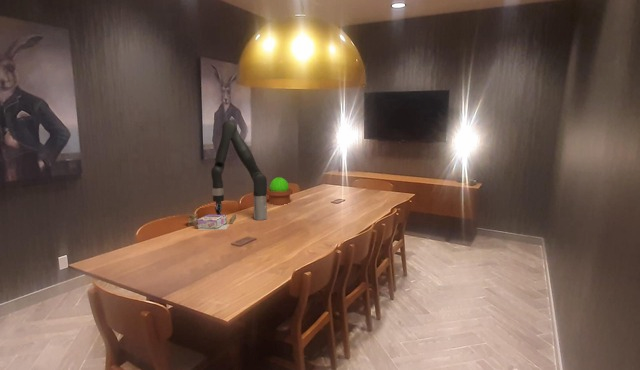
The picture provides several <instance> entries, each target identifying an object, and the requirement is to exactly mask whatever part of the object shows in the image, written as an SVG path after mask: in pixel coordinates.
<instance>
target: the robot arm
mask: <svg viewBox="0 0 640 370" xmlns="http://www.w3.org/2000/svg"><path fill="white" fill-rule="evenodd" d="M221 127H222V129H221V130H222V131H221V138H220V142H219V145H218V147H217V151H216V155H215V158H214V161H215V162H214V166H213V167H212V168H211V171H210V173H211V175H210V176H211V179H212V201H213V202H215V204H214V206H215V207H214V209H215V213H216V215H222V210H223V203H222V202H223V201H225V198H224V197H225V196H224V195H225V193H224V191H225V190H224V181H223V177H222V174H223V172H224V170H225V164H226V159H227V157H228V152H229V149H230V148H229V147H230V143H232V146H233V148H234V150H235V154H237V156H238V158H239V160H240V162H241V163H242V165H244V167H245V168H246V170H247V172H248V173H249V175H250V177H251V180H252V182H253V193H252V195H253V219H254V221H255V220H257V221H263V220H267V219H268V205H267V203H268V202H267V194H266V192H267V189H268V183H267V181H268V179H267V176H266V175H265V174H264V173H263V172H262V171H261V169H260V168H259V166H258V165H257V162H256V160H255V158H254V155H253V153H252V152H251V150H250V147H249V146H248V144H247V143H246V142H245V140H244V139H243V137H242V136H241V134H240V133H239V130H238V128H237V126H236V123H235V122H234V121H232V120H226V121H224V122H223V123H222V125H221Z"/></svg>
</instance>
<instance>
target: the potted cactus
mask: <svg viewBox="0 0 640 370" xmlns="http://www.w3.org/2000/svg"><path fill="white" fill-rule="evenodd" d="M292 194H293V189H292V188H289V183H288V181H287V180H286V179H285V178H283V177H282V176H277V177H276V178H274V179H272V181H271V182H270V185H269V188H267V192H266V196H268V201H269V203H270V204H269V205H271V204H273V206H285V205H284V204H287V205H289V204H291V202H290V201H291V195H292ZM288 203H289V204H288Z"/></svg>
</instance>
